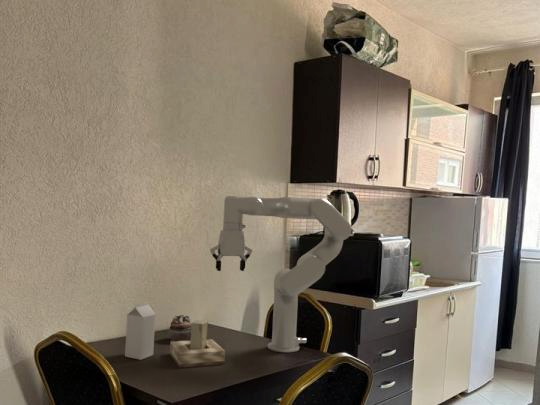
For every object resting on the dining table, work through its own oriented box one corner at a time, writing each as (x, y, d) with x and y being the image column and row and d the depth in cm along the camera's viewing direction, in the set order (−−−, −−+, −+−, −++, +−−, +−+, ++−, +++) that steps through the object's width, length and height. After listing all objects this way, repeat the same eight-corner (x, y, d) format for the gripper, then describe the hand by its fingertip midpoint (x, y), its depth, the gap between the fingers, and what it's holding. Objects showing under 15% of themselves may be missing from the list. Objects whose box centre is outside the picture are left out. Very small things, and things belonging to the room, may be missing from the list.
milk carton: (153, 355, 176) (156, 302, 177) (140, 360, 170) (143, 305, 170) (137, 352, 179) (140, 300, 180) (124, 356, 173) (127, 303, 173)
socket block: (211, 351, 185) (212, 339, 185) (224, 363, 171) (225, 350, 171) (169, 354, 179) (170, 341, 179) (179, 367, 164) (180, 354, 164)
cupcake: (163, 340, 197) (164, 315, 197) (179, 336, 205) (181, 312, 205) (181, 345, 192) (182, 319, 192) (197, 340, 200) (198, 315, 200)
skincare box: (200, 359, 171) (202, 324, 172) (189, 357, 172) (191, 323, 172) (206, 354, 178) (208, 320, 178) (195, 352, 179) (196, 319, 179)
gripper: (249, 227, 199) (247, 269, 198) (208, 226, 192) (206, 269, 192) (256, 228, 192) (254, 271, 191) (214, 227, 185) (212, 271, 185)
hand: (230, 270), depth 191 cm, fingers open, 9 cm apart
